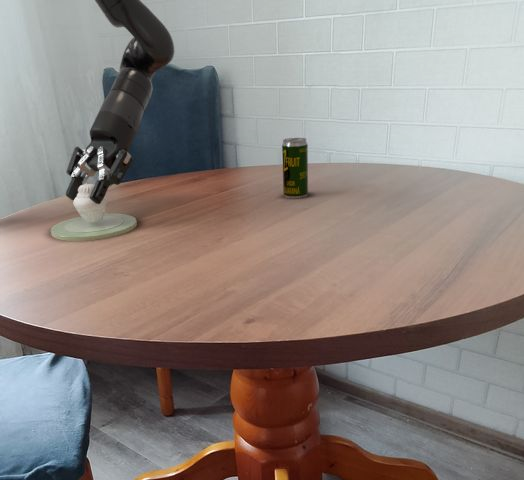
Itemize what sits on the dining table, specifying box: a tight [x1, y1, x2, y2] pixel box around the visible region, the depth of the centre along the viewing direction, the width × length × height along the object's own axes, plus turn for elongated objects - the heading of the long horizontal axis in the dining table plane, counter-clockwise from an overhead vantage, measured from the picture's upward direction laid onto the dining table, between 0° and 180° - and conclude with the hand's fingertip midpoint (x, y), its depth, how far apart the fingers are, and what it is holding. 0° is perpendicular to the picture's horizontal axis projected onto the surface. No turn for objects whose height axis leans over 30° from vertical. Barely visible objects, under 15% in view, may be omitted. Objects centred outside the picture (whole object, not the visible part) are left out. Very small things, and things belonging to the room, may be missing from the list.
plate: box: [50, 212, 138, 242], centre depth 104 cm, size 16×16×1 cm
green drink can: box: [281, 137, 309, 200], centre depth 116 cm, size 5×5×12 cm
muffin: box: [72, 182, 108, 222], centre depth 102 cm, size 6×6×7 cm
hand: (82, 199), depth 100 cm, fingers closed on muffin, 6 cm apart
